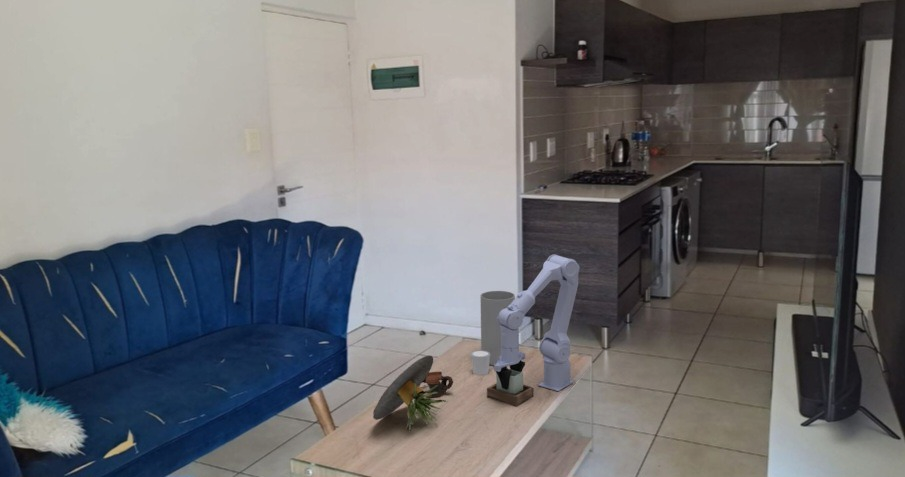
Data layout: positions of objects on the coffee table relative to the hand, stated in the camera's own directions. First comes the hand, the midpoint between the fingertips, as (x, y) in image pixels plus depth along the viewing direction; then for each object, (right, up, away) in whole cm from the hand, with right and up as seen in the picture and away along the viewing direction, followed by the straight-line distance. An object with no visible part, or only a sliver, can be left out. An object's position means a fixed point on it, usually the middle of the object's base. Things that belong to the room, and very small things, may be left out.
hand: (510, 385), depth 228 cm
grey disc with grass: (-31, -8, -16) cm, 36 cm away
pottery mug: (-24, -4, +6) cm, 25 cm away
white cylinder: (-9, 0, +22) cm, 24 cm away
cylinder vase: (-2, +2, +33) cm, 33 cm away
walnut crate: (0, -4, +1) cm, 4 cm away
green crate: (0, -1, 0) cm, 2 cm away
